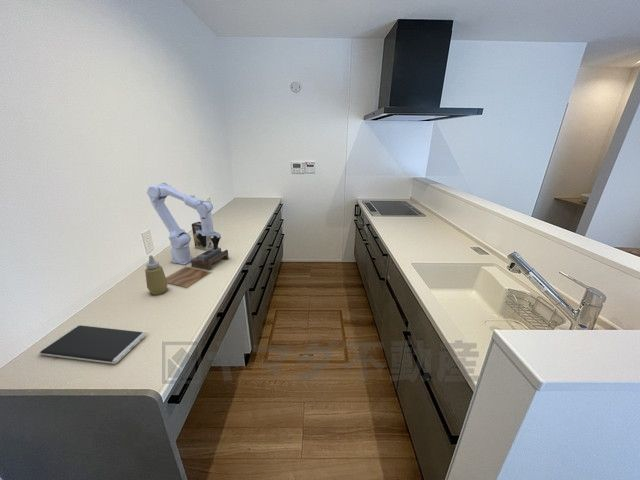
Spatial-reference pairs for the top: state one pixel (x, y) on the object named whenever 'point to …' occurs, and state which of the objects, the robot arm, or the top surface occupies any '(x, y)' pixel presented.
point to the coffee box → (198, 244)
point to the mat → (186, 277)
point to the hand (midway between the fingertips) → (210, 247)
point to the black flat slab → (94, 344)
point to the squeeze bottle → (155, 277)
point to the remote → (208, 254)
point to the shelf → (209, 260)
